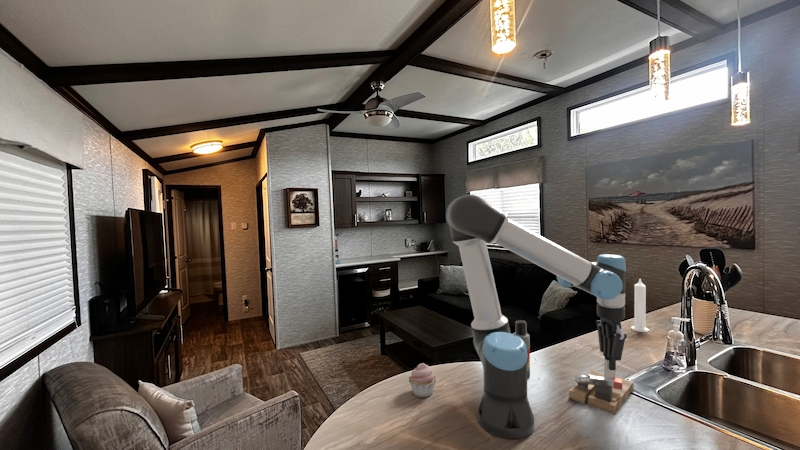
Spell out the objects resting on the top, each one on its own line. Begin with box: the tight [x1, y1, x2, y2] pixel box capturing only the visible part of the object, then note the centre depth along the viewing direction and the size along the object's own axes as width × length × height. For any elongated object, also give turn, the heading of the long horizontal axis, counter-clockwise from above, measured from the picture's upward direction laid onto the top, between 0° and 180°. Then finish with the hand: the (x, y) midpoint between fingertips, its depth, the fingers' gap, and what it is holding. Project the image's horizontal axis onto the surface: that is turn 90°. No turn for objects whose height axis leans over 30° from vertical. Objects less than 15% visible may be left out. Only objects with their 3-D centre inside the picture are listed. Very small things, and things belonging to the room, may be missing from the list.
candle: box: [631, 278, 650, 333], centre depth 167 cm, size 7×7×25 cm
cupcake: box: [408, 362, 438, 399], centre depth 113 cm, size 9×9×10 cm
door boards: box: [568, 369, 635, 415], centre depth 110 cm, size 20×12×6 cm, turn 133°
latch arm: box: [574, 371, 622, 390], centre depth 108 cm, size 13×4×2 cm, turn 66°
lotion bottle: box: [512, 319, 531, 380], centre depth 123 cm, size 6×6×20 cm
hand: (609, 378), depth 109 cm, fingers closed
